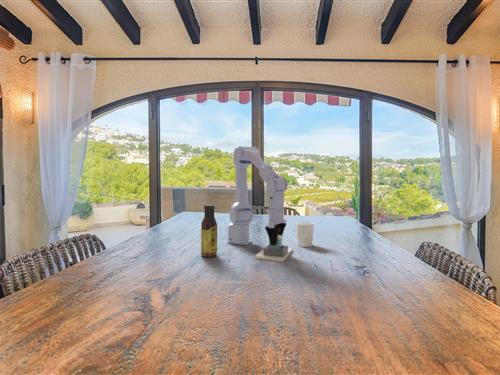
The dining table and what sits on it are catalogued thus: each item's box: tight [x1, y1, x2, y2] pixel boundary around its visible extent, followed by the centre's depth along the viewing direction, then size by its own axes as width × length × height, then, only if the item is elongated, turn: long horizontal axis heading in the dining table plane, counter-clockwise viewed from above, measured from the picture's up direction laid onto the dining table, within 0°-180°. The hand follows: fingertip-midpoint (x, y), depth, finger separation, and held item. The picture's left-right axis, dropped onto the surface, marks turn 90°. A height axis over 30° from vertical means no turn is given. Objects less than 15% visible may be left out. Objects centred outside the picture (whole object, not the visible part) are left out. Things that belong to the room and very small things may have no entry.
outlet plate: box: [254, 244, 294, 262], centre depth 122 cm, size 11×16×4 cm
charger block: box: [268, 235, 283, 250], centre depth 119 cm, size 4×4×7 cm
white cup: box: [295, 221, 315, 248], centre depth 136 cm, size 8×8×10 cm
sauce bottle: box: [200, 204, 218, 258], centre depth 119 cm, size 7×6×20 cm
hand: (276, 243), depth 119 cm, fingers open, 7 cm apart
